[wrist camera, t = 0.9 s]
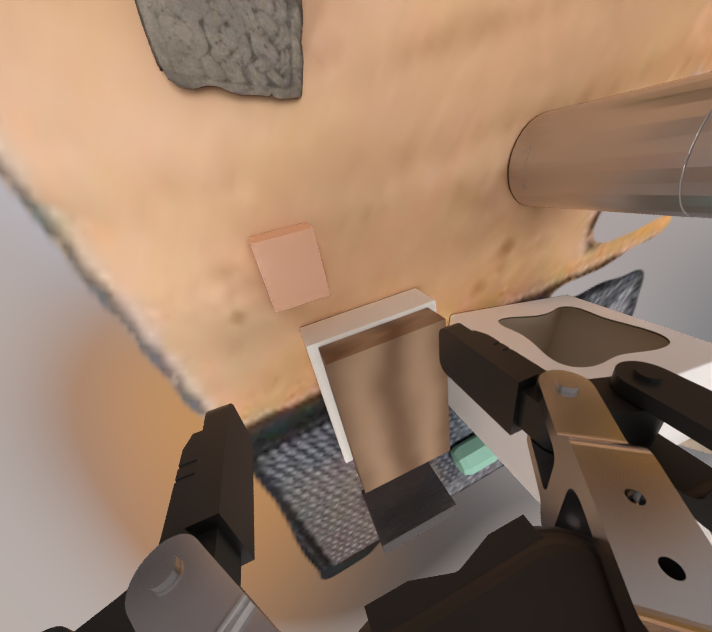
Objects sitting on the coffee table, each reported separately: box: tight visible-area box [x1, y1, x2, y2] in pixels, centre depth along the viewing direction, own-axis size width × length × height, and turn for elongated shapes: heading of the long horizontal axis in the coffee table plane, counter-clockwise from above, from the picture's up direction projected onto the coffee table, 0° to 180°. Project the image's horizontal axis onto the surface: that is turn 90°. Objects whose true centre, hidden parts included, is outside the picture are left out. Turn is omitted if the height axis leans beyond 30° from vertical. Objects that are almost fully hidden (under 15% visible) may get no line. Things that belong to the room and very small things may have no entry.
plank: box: [318, 307, 450, 493], centre depth 31 cm, size 12×20×3 cm, turn 12°
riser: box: [299, 288, 436, 463], centre depth 33 cm, size 14×18×4 cm
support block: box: [249, 223, 330, 313], centre depth 24 cm, size 5×6×4 cm
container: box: [450, 434, 498, 475], centre depth 49 cm, size 6×6×25 cm
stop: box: [362, 462, 456, 554], centre depth 43 cm, size 12×2×8 cm, turn 102°
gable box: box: [447, 295, 712, 545], centre depth 30 cm, size 22×13×28 cm, turn 90°
